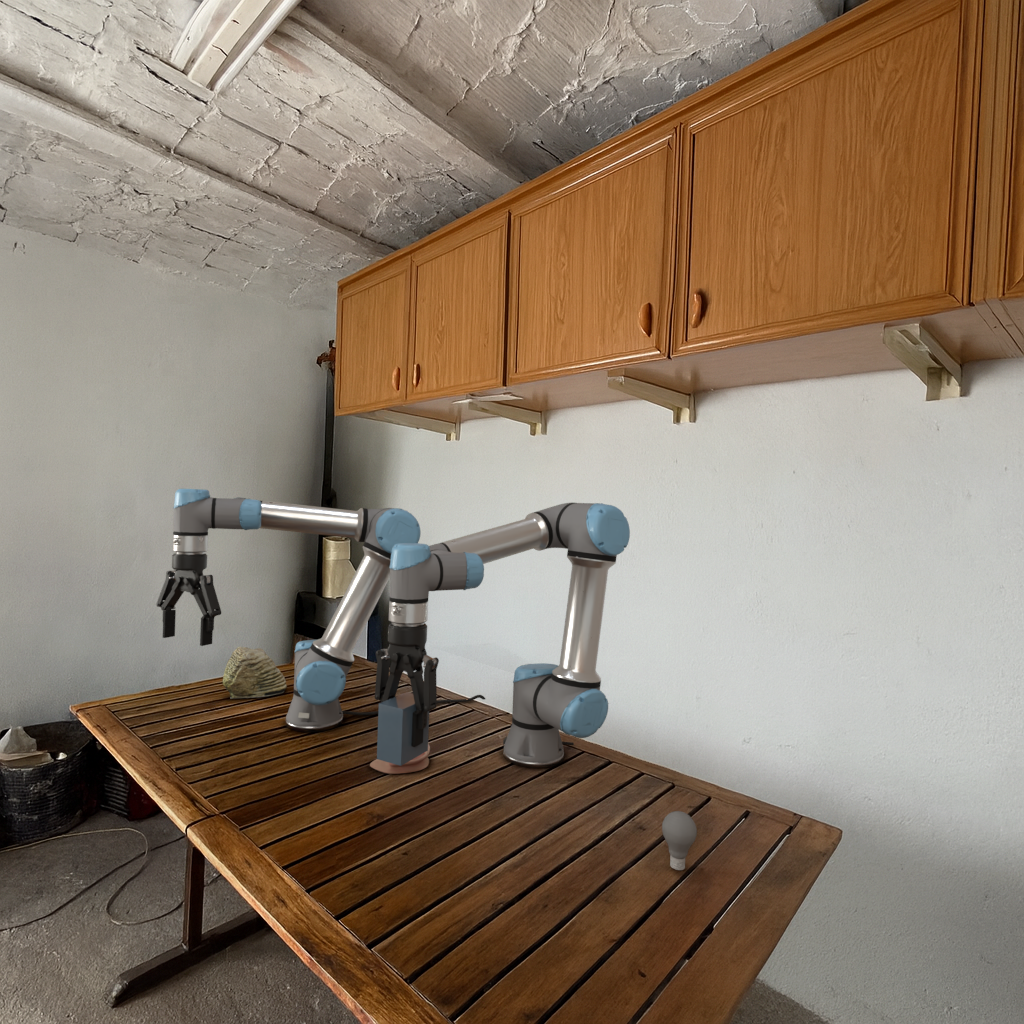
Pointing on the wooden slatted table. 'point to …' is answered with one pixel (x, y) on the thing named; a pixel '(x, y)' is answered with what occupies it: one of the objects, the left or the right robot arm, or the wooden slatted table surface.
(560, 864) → the wooden slatted table surface
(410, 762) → the anatomical model
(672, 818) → the light bulb
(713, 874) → the wooden slatted table surface
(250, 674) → the fossil
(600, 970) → the wooden slatted table surface
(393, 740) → the brick
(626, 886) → the wooden slatted table surface
